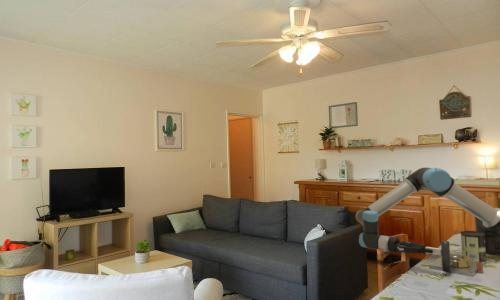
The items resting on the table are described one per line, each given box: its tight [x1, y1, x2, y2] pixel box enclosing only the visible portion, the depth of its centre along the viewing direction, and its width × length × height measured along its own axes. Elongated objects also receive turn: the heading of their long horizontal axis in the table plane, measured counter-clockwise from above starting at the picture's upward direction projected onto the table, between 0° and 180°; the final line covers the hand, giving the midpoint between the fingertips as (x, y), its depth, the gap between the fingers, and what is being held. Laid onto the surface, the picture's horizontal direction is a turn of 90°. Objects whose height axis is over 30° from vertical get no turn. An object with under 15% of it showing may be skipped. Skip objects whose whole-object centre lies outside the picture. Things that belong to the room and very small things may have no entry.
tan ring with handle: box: [440, 240, 471, 273], centre depth 158 cm, size 21×12×13 cm, turn 134°
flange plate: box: [428, 253, 484, 277], centre depth 160 cm, size 18×20×6 cm
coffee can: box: [460, 230, 487, 265], centre depth 169 cm, size 10×10×14 cm
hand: (441, 252), depth 153 cm, fingers closed
